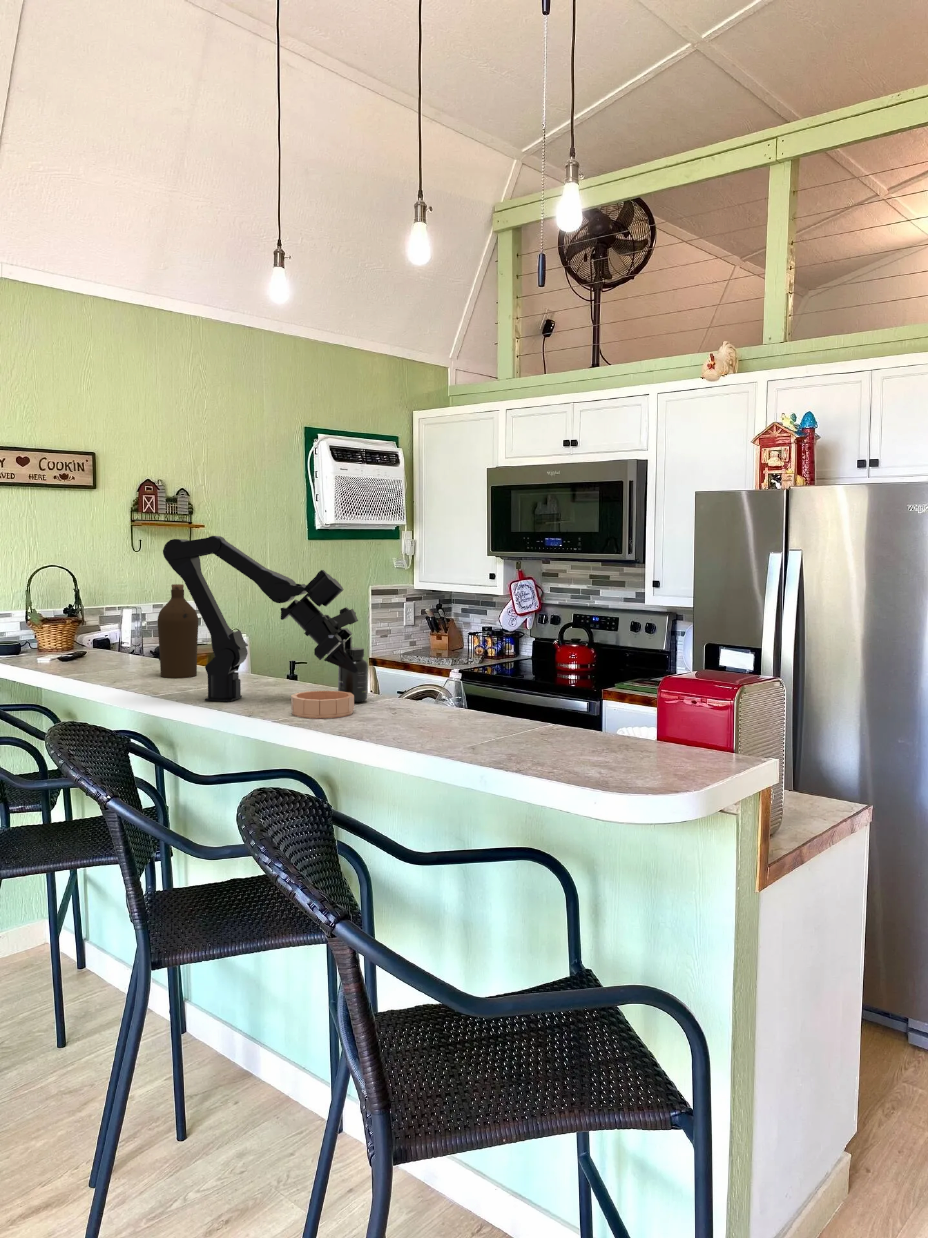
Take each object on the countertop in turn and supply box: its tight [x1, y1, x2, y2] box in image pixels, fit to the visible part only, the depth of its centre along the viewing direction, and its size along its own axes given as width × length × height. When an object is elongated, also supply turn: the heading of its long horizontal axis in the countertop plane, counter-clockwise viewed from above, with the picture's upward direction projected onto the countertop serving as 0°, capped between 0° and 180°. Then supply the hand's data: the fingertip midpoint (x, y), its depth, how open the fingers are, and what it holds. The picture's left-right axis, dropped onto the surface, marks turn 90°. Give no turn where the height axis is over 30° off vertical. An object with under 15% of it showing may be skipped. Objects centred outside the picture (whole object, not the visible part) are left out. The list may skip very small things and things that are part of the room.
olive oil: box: [157, 583, 199, 679], centre depth 245 cm, size 11×11×25 cm
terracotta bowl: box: [290, 689, 355, 719], centre depth 194 cm, size 13×13×4 cm
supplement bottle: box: [337, 646, 369, 703], centre depth 208 cm, size 7×7×12 cm
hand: (359, 669), depth 208 cm, fingers closed on supplement bottle, 7 cm apart
